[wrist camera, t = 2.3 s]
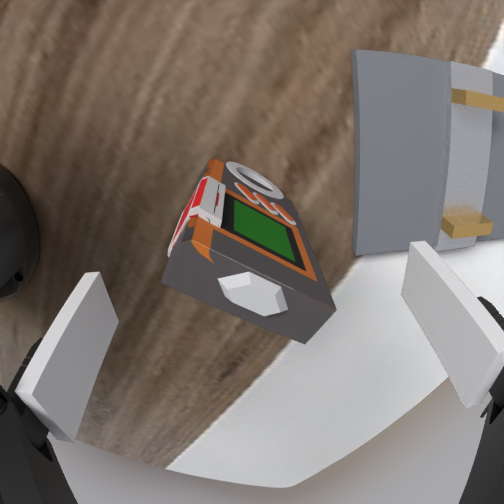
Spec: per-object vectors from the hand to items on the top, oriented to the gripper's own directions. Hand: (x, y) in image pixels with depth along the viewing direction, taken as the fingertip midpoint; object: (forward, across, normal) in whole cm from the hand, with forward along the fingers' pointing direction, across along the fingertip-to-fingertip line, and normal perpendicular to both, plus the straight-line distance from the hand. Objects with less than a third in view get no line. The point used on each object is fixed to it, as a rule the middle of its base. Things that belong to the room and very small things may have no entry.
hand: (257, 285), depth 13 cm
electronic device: (+14, 0, 0) cm, 14 cm away
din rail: (+12, +19, +2) cm, 23 cm away
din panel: (+14, +19, +2) cm, 24 cm away
